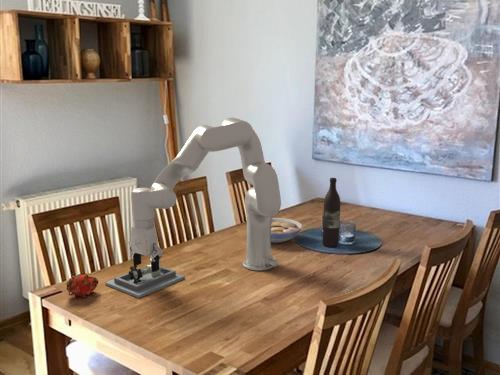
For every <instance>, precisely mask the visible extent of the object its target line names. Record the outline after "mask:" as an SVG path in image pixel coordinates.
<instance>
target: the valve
mask: <svg viewBox="0 0 500 375" xmlns="http://www.w3.org/2000/svg"><path fill="white" fill-rule="evenodd" d="M151 261H152V259H151V257H150V259H149V262H150V264H148V265H145V266H146V267H145V266H144V267H145V268H144V269H142V270H141V269H139V268H138V265H137V266H136V265H135V266H134V265H131V266H130V267H129V270H130V271H128V273H129V274H131V277H130V279H131V280H133V279H134V283H139V282H141V280H140V278H142V277H143V275H142V274H144V273H148V274H149V273H151V276H152V277H158V276H160V275H161V271H160V270H161V266H162V265H161V264H162V263H161V259H160V260H159V270H158V271H155V272H152V269H151ZM133 271H136V272H134V276H135V277H136V276H137V278H135V277H134V276H133Z"/></svg>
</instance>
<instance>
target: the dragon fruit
mask: <svg viewBox="0 0 500 375" xmlns="http://www.w3.org/2000/svg"><path fill="white" fill-rule="evenodd" d="M65 284H66V287H65V289H66V291H67V293H68V295H69V296H74V297H75V298H78V297H81V298H86V296H89V295H90V296H91V295H93V294H94V293H95V290H96V288H97V287H98V285H99V280H98V278H97V277H95V276H89V274H88V273H84V274H82V273H79V274H77V275H71V277H70V278H69V279H68V281H67V282H66V283H65Z"/></svg>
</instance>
